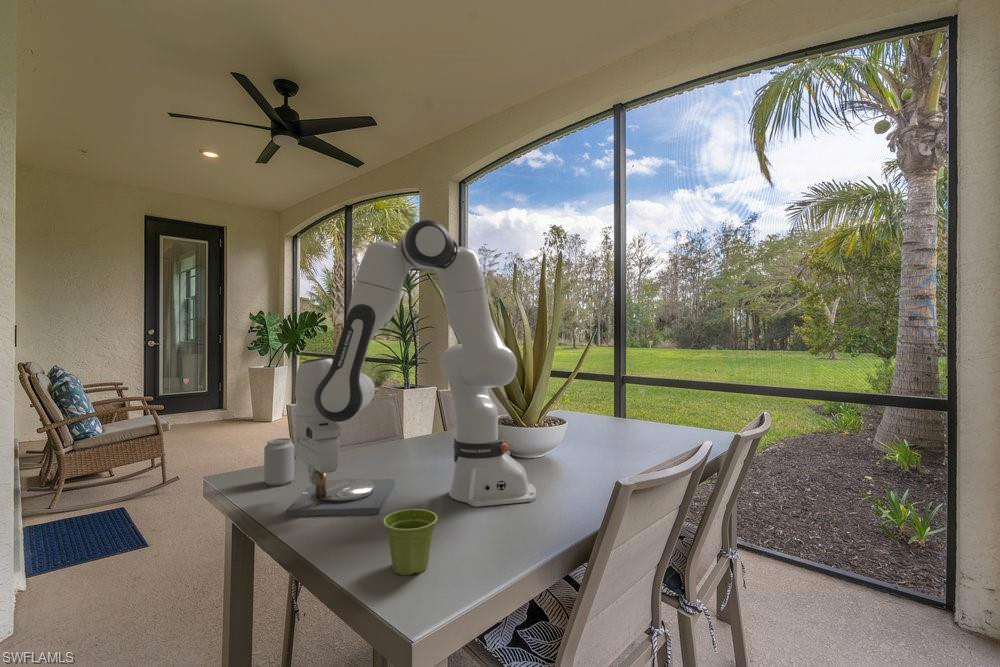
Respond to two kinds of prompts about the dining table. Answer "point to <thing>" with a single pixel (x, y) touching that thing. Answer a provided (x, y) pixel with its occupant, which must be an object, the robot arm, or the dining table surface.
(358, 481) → the dial
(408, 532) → the plant pot
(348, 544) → the dining table surface
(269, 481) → the can
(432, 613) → the dining table surface
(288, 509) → the dial plate
